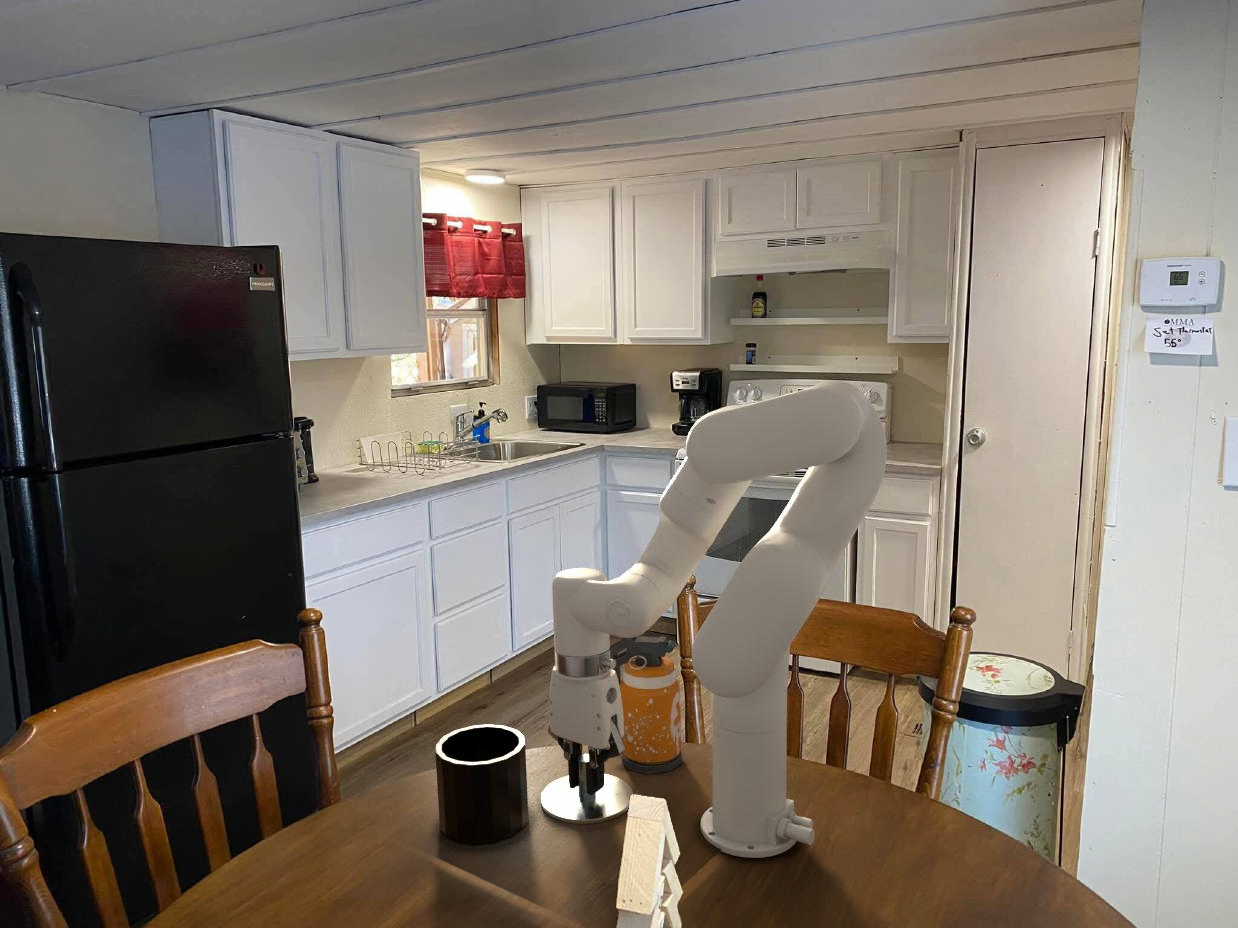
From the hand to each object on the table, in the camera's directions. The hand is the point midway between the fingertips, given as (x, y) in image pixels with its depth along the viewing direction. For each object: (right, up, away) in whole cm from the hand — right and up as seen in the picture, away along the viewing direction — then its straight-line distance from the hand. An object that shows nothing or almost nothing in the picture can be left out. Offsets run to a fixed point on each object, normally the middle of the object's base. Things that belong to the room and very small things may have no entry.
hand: (586, 786), depth 126 cm
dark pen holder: (-13, -3, -5) cm, 15 cm away
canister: (+8, -1, +12) cm, 14 cm away
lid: (0, -2, 0) cm, 2 cm away
